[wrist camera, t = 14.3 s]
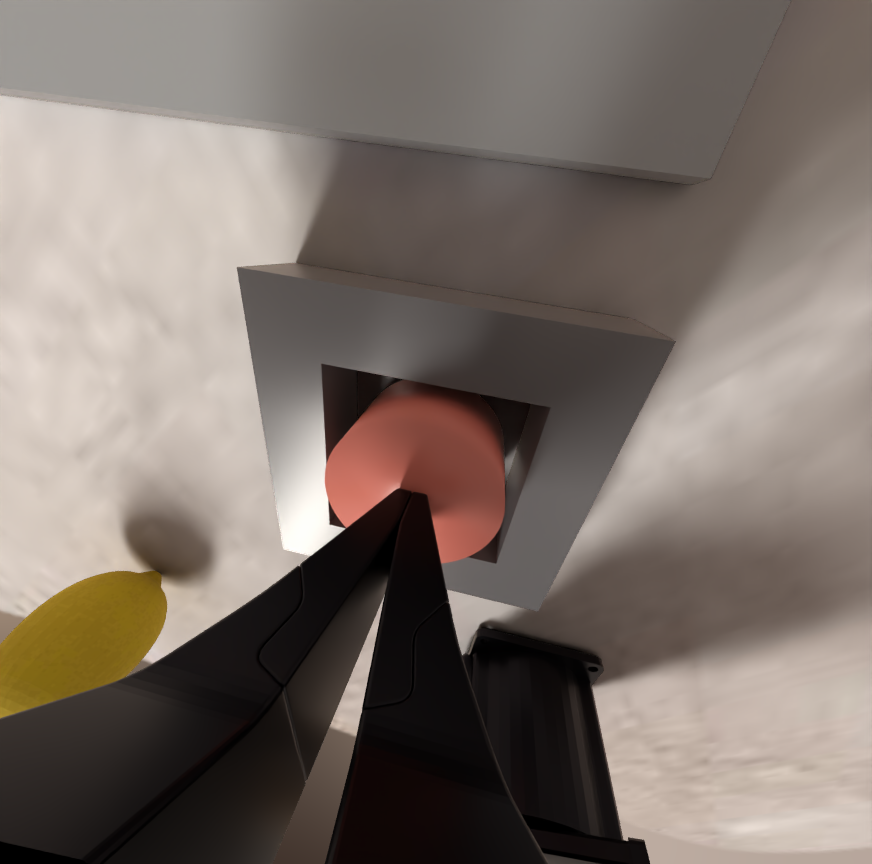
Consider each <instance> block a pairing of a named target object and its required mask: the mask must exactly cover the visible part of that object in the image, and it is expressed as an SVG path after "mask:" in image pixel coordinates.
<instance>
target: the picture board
mask: <svg viewBox="0 0 872 864" xmlns="http://www.w3.org/2000/svg"><path fill="white" fill-rule="evenodd" d="M790 2H791V0H0V95H5V96H13V97H20V98H28V99H36V100H43V101H51V102H59V103H66V104H74V105H82V106H89V107H97V108H105V109H112V110H120V111H128V112H135V113H143V114H151V115H158V116H166V117H174V118H181V119H189V120H197V121H204V122H212V123H220V124H228V125H235V126H243V127H251V128H258V129H266V130H274V131H281V132H289V133H297V134H304V135H312V136H320V137H327V138H335V139H343V140H350V141H358V142H366V143H373V144H381V145H389V146H396V147H404V148H412V149H419V150H427V151H435V152H442V153H450V154H458V155H465V156H473V157H481V158H489V159H496V160H504V161H512V162H519V163H527V164H535V165H542V166H550V167H558V168H565V169H573V170H581V171H588V172H596V173H604V174H611V175H619V176H627V177H634V178H642V179H650V180H657V181H665V182H673V183H680V184H688V185H693V184H696V183H699V182H702V181H705V180H708V179H711V178H712V175H713V173H714V171H715V169H716V166H717V164H718V162H719V160H720V157H721V155H722V153H723V151H724V149H725V146H726V144H727V142H728V140H729V137H730V135H731V133H732V131H733V129H734V126H735V124H736V122H737V120H738V117H739V115H740V113H741V111H742V109H743V106H744V104H745V102H746V100H747V97H748V95H749V93H750V91H751V89H752V86H753V84H754V82H755V80H756V77H757V75H758V73H759V71H760V69H761V66H762V64H763V62H764V60H765V57H766V55H767V53H768V51H769V49H770V46H771V44H772V42H773V40H774V37H775V35H776V33H777V31H778V28H779V26H780V24H781V22H782V20H783V17H784V15H785V13H786V11H787V8H788V6H789V4H790Z"/></svg>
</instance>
